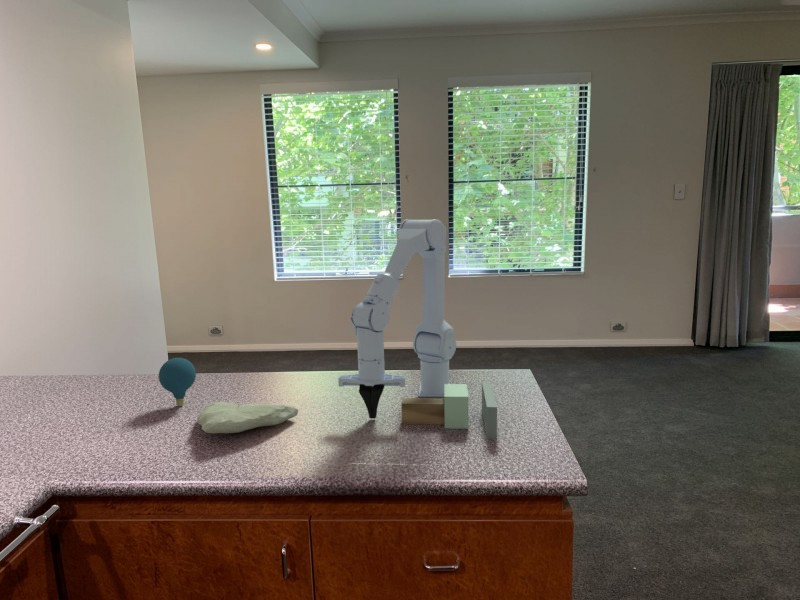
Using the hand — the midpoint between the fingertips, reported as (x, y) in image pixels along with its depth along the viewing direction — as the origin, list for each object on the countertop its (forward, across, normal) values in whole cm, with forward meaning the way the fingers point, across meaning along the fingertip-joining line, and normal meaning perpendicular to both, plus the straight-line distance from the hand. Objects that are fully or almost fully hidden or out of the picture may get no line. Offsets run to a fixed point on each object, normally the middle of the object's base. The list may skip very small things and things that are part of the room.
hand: (373, 416), depth 119 cm
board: (+1, +25, -1) cm, 25 cm away
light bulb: (+1, -49, +8) cm, 49 cm away
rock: (+2, -30, -6) cm, 30 cm away
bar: (+1, +13, 0) cm, 13 cm away
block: (+1, +18, 0) cm, 18 cm away
